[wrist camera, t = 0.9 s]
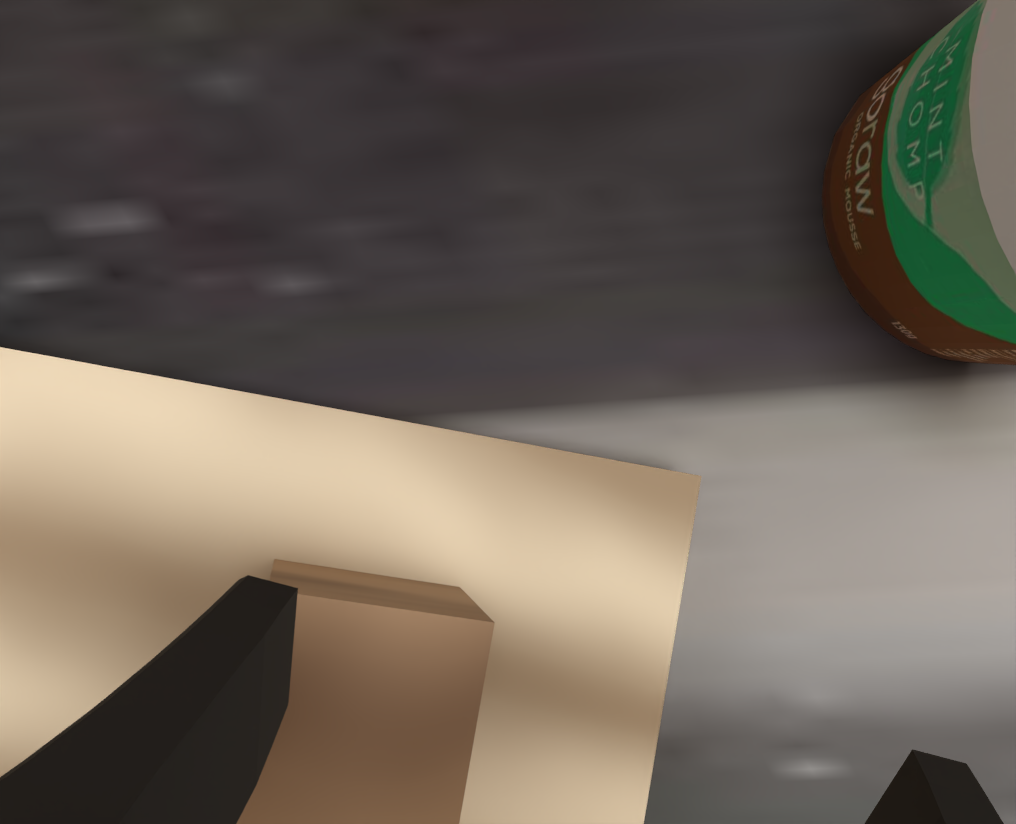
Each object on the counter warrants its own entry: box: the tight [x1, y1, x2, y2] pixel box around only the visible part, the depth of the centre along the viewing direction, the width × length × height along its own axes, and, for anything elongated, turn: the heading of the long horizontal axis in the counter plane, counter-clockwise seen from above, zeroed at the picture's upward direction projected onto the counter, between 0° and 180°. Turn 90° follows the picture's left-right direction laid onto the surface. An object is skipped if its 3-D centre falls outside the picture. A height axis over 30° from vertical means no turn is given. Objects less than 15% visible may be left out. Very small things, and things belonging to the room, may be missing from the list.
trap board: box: [0, 347, 701, 824], centre depth 23 cm, size 18×30×2 cm, turn 80°
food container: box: [822, 0, 1016, 365], centre depth 24 cm, size 12×6×10 cm, turn 179°
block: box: [236, 559, 495, 824], centre depth 21 cm, size 4×4×4 cm
